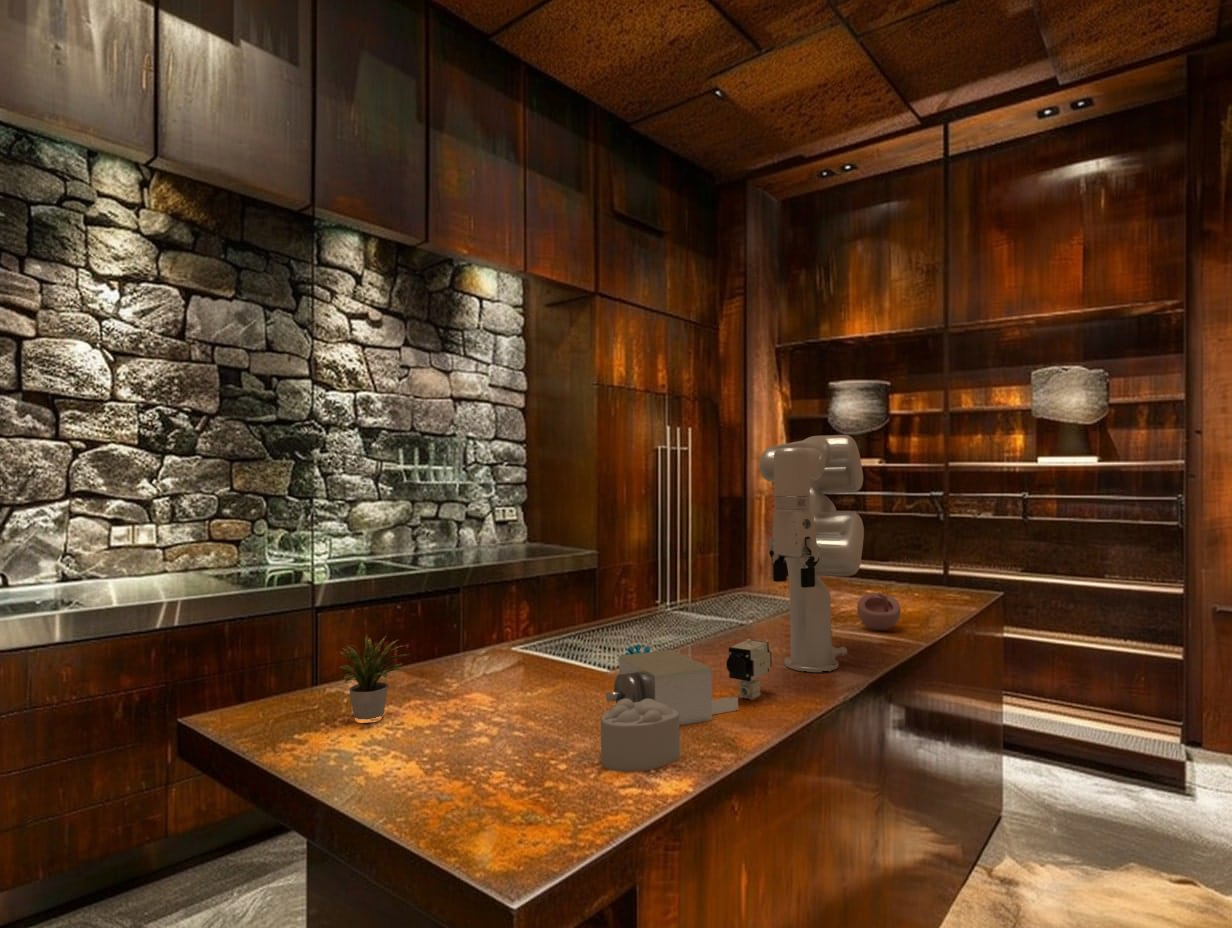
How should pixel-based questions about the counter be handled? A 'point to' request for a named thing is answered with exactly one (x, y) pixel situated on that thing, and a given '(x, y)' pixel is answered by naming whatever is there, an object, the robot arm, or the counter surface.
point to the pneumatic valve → (749, 665)
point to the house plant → (369, 679)
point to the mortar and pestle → (878, 611)
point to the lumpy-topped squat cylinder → (639, 736)
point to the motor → (670, 685)
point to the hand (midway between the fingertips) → (793, 584)
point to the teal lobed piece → (637, 650)
